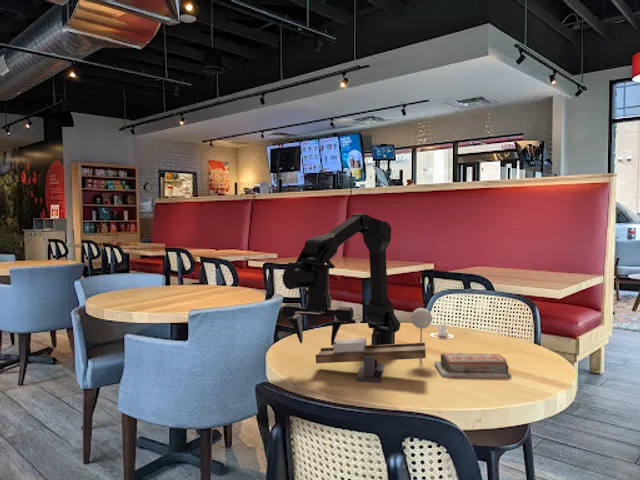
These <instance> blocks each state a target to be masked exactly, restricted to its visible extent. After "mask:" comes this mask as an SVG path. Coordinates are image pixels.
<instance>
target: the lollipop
mask: <svg viewBox="0 0 640 480" xmlns="http://www.w3.org/2000/svg"><path fill="white" fill-rule="evenodd" d="M410 320H411V323H412V325H413V326H414V327H416V328H417V329H420V331H419V332H420V333H419V334H420V335H419V337H420V338H419V340H420V341H419V343H423V329H426V328H428V327H430V325H431V324H432V321H433V315H432V313H431V312H430V310H428V309H427V308H423V307H418V308H416V309H415V310H414V311H412V313H411V315H410ZM419 360H420V361H422V358H420V359H419Z"/></svg>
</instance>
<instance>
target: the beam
mask: <svg viewBox="0 0 640 480" xmlns="http://www.w3.org/2000/svg"><path fill="white" fill-rule="evenodd" d="M366 345H367V350H366V352H357V353H338V354H334V349H333V346H332V347H331V346H330V347H320V351H319V353H317V354H315V364H329V363H330V364H331V363H333V364H334V363H335V364H336V363H352V362H353V363H355V362H364V356H365V355H368V356H374V361H378V362H379V361H396V360H397V361H398V360H415V359H416V360H417V359H419V360H420V358H421V359H427V357H426V356H427V353H426V352H427V351H426V342H424V341H422V343H420V342H408V343H407V342H406V343H395V344H386V345H371V344H369V345H368V344H366Z"/></svg>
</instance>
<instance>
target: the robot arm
mask: <svg viewBox="0 0 640 480" xmlns="http://www.w3.org/2000/svg"><path fill="white" fill-rule="evenodd" d="M358 233H359V234H361V235H362V240H363V243H364V245H365V246H366V248H367V250H368V251H369V253H368V257H369V275H370V280H369V281H370V299H369V301H368V302H367V303H365V304H364V317H365V320H366V322H367V327H368V329H372V334H371V344H370V345H386V344H396V343H395V342H396V340H395V339H396V333H398V332H399V331H400V329H401V322H400V320H399V319H398V318H397V316H396V315H395V311H394V310H395V309H394V305H393V304H392V302H391V300H390V298H389V296H388V275H387V274H388V273H387V269H388V268H387V249H388V247H389V246H390V243H391V239H392V227H391V225H390V224H389V223H388V221H385V220H384V221H383V220H381V219H377V218H375V217H373V216H370V215H368V214H366V213H353V214H352V215H350V217H349V218H347V219H346V220H344V221H343V222H341V223H340V224H338V225H337V226H336V227H334V228H333V229H331V230H330V231H328V232H326V233H324V234H320V235H316V236H312V237H311V238H308V239H307V240H306V241H305V243H304V246H303V248H302V250H301V252H300V254H299V256H298V257H297V259H296V261H295V262H294V261H289V262H288V263H287V267H286V268H285V269H284V271H283V274H282V283H283V285H284V287H285V288H286V289H288V290H296V289H304V288H305V289H306V288H307V290H306V296H305V301H306V306H305V307H301V304H300V303H286V304H284V305H283V306H282V307H281V309H280V317H281V318H286V321H288V322H290V323H291V325H292V327H293V329H294V331H295V332H296V336H297V339H298V341H299V343H300V344H303V342H304V341H303V337H304V336H303V335H304V334H303V333H304V332H303V315H304V316H305V315H306V316H319V317H320V316H321V317H334V320H332V321H333V322H332V328H331V338H330V345H331V346H332V347H333V344H334V342H335V341H336V338H337V335H338V332H339V330H340V328H341V326H342V325H345V323H347V322H351V321H352V320H353V318H354V309H353V307H351V306H338V307H337V308H336V309H333V308H332V300H333V297H332V296H331V295H330V291H329V289H330V288H329V286H330V270H331V269H336V268H335V267H336V266H335V265H334V263H332V261H331V259H333V257H334V256H335V255H336V254H337V253H338V250H339V247H340V246H341V245H342V244H344V243H345V242H347V241H348V240H349V239H351V238H352V237H353V236H355V235H356V234H358ZM331 346H330V347H331Z"/></svg>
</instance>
